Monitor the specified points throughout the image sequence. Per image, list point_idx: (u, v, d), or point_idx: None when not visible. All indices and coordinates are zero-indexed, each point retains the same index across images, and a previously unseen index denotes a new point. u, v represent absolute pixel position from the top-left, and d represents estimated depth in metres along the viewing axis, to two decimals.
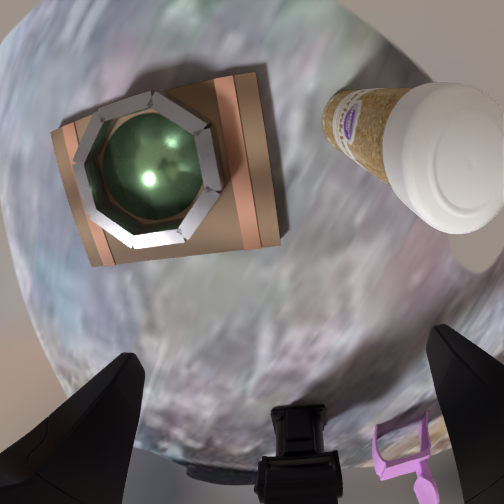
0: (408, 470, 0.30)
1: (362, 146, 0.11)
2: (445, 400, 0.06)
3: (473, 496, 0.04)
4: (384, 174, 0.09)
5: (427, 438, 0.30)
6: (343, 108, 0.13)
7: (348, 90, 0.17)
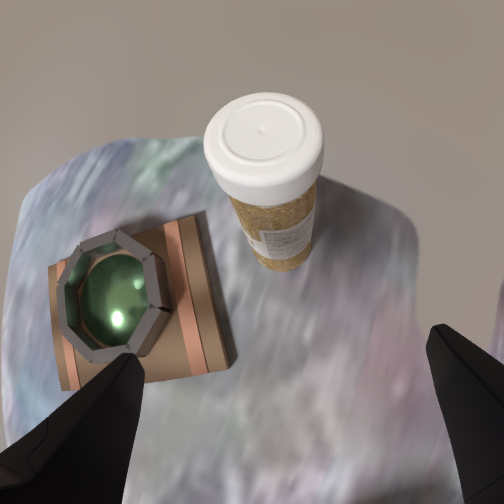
0: None
1: None
2: (445, 400, 0.06)
3: (473, 496, 0.04)
4: (233, 199, 0.13)
5: None
6: None
7: None
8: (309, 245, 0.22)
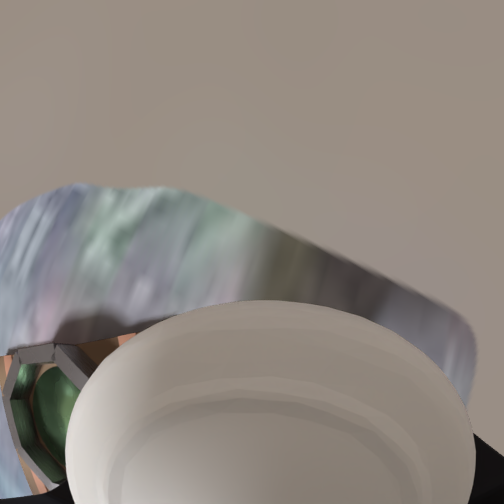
0: None
1: None
2: None
3: None
4: None
5: None
6: None
7: None
8: None
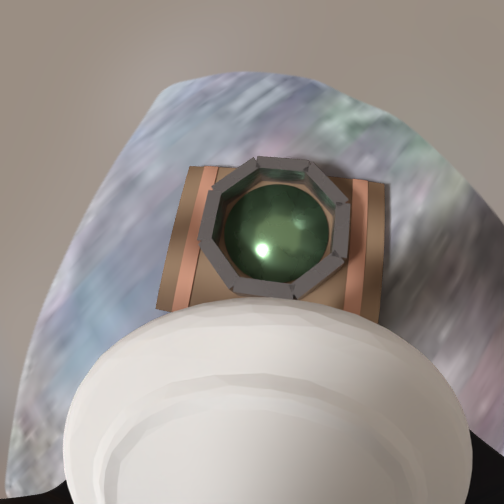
0: None
1: None
2: None
3: None
4: None
5: None
6: None
7: None
8: None
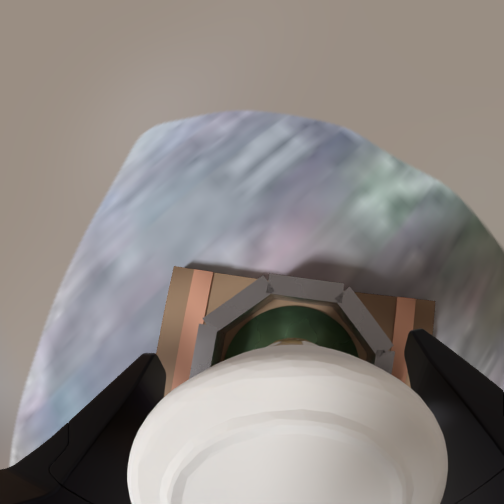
0: None
1: None
2: None
3: None
4: None
5: None
6: None
7: (277, 340, 0.15)
8: None
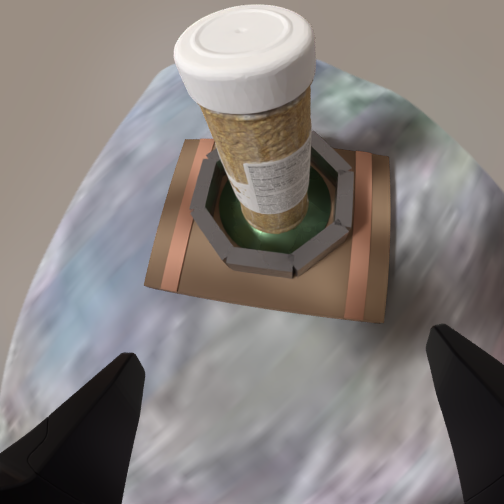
0: None
1: None
2: (445, 400, 0.06)
3: (473, 496, 0.04)
4: (209, 118, 0.10)
5: None
6: None
7: None
8: (306, 204, 0.19)
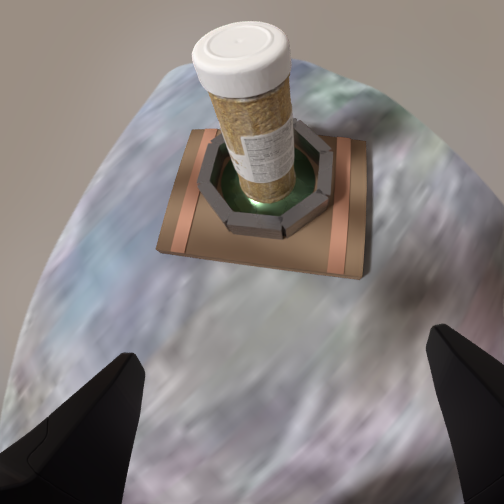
0: None
1: (217, 116, 0.15)
2: (445, 400, 0.06)
3: (473, 496, 0.04)
4: (216, 103, 0.14)
5: None
6: None
7: None
8: (294, 179, 0.23)
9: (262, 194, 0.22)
